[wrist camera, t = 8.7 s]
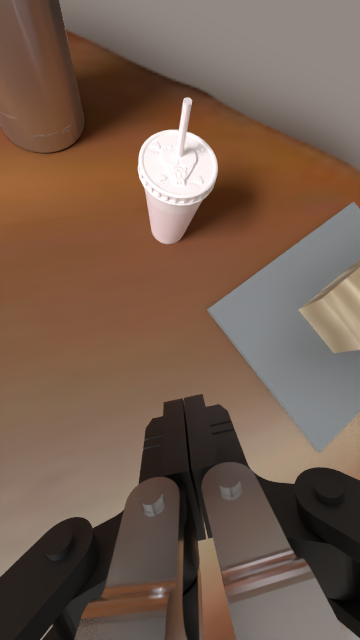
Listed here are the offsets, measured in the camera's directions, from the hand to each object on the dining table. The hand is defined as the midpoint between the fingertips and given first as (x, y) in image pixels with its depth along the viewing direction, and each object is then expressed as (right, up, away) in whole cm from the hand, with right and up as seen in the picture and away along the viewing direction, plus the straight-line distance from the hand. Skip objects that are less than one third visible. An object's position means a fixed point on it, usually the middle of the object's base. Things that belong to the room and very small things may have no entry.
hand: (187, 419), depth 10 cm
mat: (+17, +5, +21) cm, 28 cm away
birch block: (+15, +3, +17) cm, 23 cm away
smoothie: (-2, +14, +20) cm, 25 cm away
